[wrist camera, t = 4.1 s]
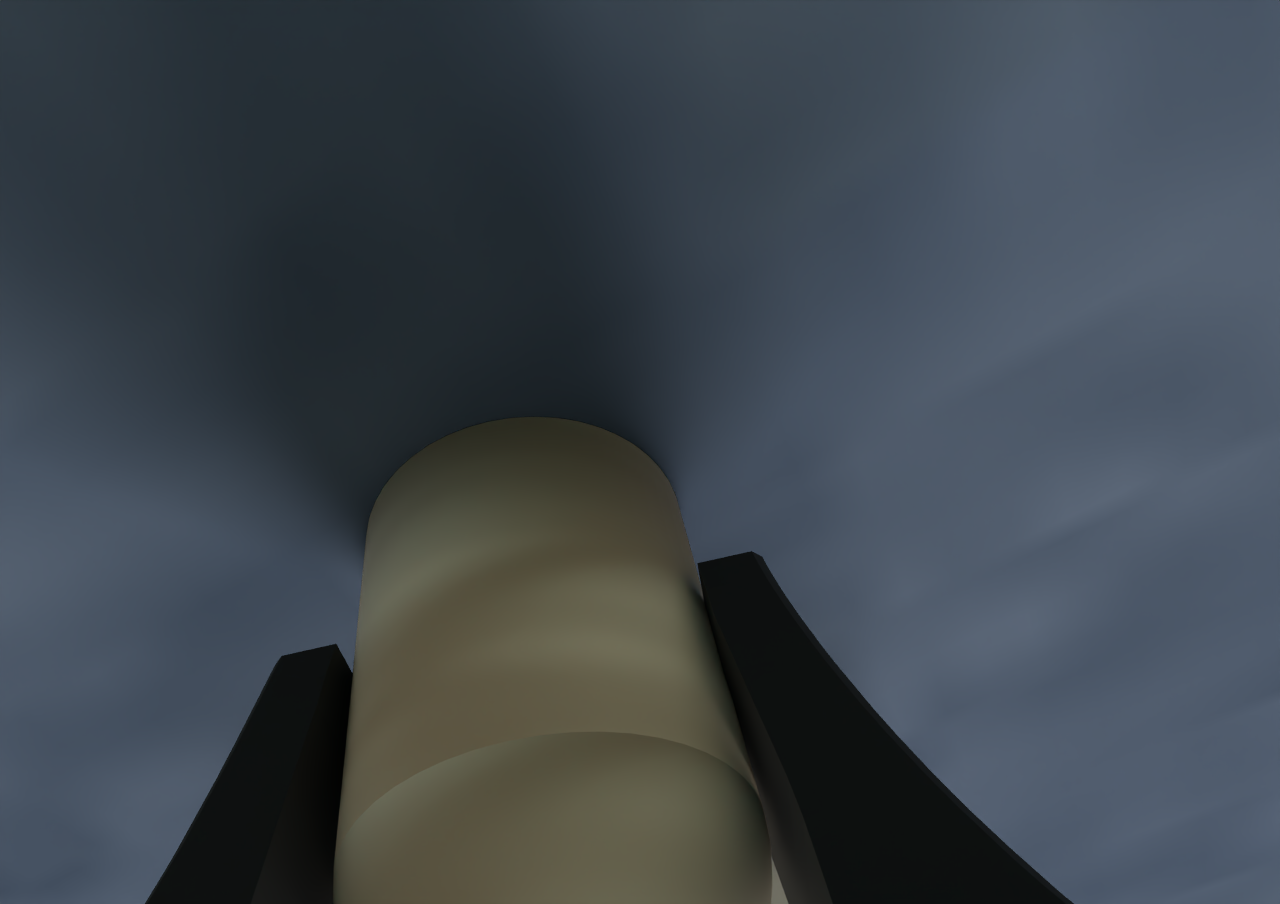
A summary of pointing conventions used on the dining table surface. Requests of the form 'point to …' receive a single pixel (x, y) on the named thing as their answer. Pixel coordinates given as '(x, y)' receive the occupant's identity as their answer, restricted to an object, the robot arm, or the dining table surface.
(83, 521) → the dining table surface
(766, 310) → the dining table surface
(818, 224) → the dining table surface
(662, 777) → the wooden egg
